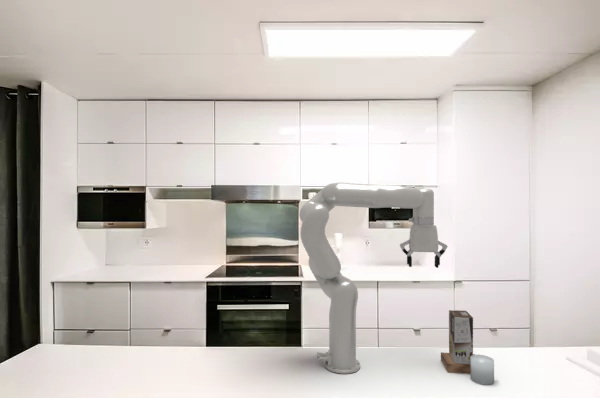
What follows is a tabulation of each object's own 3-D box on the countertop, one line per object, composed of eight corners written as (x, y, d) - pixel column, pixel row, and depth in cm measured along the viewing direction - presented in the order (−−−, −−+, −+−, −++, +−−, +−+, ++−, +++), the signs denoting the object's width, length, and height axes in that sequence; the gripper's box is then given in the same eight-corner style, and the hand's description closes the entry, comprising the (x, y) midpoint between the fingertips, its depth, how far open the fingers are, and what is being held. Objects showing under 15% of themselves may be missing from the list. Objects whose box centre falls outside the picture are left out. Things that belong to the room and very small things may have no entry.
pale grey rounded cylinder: (474, 384, 122) (474, 362, 122) (467, 374, 129) (467, 354, 129) (497, 386, 121) (497, 364, 121) (489, 375, 128) (489, 355, 128)
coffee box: (473, 365, 129) (473, 317, 129) (453, 363, 130) (453, 316, 131) (467, 354, 138) (466, 310, 138) (448, 353, 139) (448, 309, 139)
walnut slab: (447, 372, 130) (447, 363, 130) (440, 360, 140) (440, 352, 140) (484, 374, 129) (484, 365, 129) (474, 362, 138) (474, 354, 139)
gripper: (401, 221, 141) (401, 267, 141) (449, 222, 138) (449, 269, 138) (398, 220, 148) (398, 264, 148) (444, 221, 146) (444, 265, 146)
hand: (423, 266), depth 143 cm, fingers open, 9 cm apart
